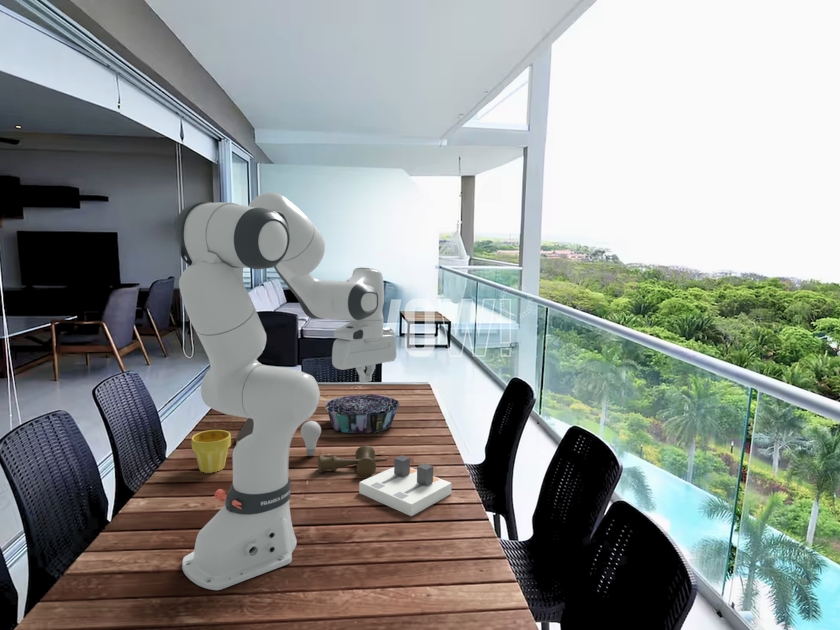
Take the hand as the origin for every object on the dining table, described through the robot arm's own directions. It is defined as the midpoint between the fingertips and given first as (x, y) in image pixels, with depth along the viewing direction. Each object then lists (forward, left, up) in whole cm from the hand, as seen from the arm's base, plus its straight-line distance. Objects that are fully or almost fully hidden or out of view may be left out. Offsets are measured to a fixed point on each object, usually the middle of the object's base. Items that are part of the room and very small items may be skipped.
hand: (365, 381), depth 136 cm
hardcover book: (+5, +54, -29) cm, 62 cm away
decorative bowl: (+34, +36, -29) cm, 57 cm away
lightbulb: (+3, +26, -29) cm, 39 cm away
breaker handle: (+7, -8, -25) cm, 27 cm away
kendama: (+4, +9, -29) cm, 31 cm away
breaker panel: (+4, -12, -28) cm, 31 cm away
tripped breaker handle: (+7, -16, -25) cm, 31 cm away
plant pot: (-22, +39, -29) cm, 53 cm away
